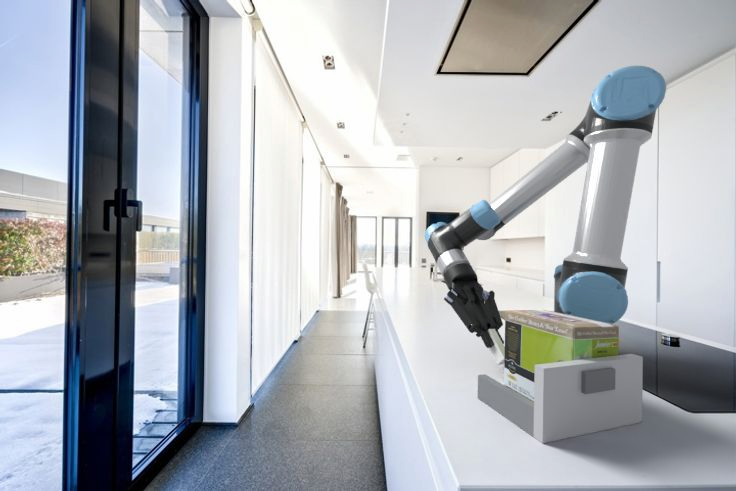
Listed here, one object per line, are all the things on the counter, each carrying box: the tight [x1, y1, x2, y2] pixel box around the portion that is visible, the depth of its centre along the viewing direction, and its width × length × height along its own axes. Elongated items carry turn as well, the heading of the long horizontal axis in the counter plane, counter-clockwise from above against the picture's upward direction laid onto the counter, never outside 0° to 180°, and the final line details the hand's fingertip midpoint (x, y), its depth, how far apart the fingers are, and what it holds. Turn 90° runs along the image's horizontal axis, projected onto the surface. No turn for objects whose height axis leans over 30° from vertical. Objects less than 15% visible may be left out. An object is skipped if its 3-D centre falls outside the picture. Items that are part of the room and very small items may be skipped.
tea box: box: [503, 309, 620, 402], centre depth 55 cm, size 15×10×15 cm, turn 17°
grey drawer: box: [477, 353, 644, 444], centre depth 52 cm, size 20×14×10 cm
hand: (503, 361), depth 62 cm, fingers closed
